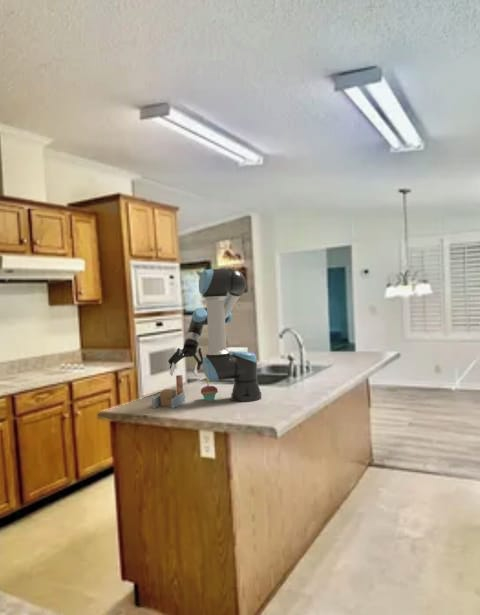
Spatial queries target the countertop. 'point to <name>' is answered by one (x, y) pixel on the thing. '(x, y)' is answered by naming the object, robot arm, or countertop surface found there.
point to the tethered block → (171, 392)
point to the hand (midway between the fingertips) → (182, 374)
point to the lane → (174, 401)
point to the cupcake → (209, 392)
